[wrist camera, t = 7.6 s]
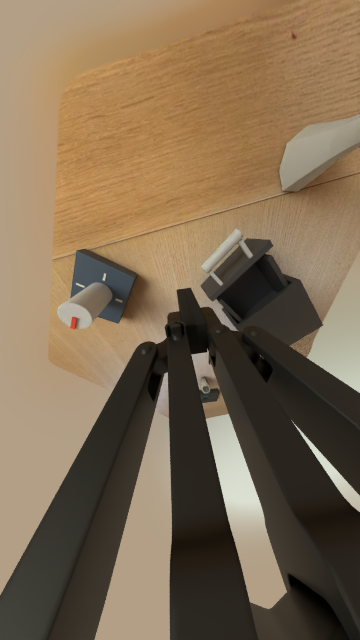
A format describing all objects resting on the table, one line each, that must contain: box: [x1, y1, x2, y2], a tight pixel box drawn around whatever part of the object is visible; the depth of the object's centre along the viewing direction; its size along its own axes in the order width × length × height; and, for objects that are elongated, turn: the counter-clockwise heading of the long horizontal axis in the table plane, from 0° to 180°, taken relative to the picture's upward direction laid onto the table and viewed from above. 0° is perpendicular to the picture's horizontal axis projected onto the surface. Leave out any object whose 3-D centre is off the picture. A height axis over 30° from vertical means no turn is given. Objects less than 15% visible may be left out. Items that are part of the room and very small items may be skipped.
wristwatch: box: [201, 377, 210, 393], centre depth 50 cm, size 4×6×5 cm, turn 18°
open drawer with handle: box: [201, 229, 289, 322], centre depth 27 cm, size 20×12×7 cm, turn 47°
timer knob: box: [57, 282, 112, 329], centre depth 22 cm, size 4×4×9 cm
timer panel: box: [71, 249, 137, 323], centre depth 28 cm, size 12×10×3 cm
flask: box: [279, 114, 360, 192], centre depth 17 cm, size 7×7×10 cm
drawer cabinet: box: [222, 274, 323, 346], centre depth 32 cm, size 16×14×9 cm
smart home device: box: [199, 389, 219, 403], centre depth 58 cm, size 8×2×20 cm
